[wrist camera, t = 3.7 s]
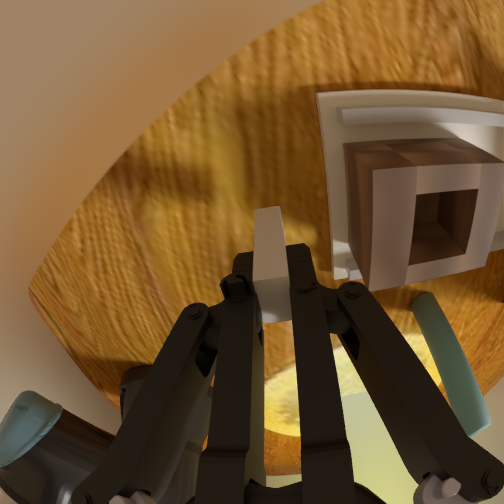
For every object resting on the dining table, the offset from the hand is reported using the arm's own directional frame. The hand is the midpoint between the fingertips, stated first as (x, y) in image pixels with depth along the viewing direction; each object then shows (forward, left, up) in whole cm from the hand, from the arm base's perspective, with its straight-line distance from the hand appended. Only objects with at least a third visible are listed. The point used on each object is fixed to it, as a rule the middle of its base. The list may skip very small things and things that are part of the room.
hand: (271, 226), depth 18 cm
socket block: (+11, 0, -3) cm, 11 cm away
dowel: (+15, -14, -4) cm, 21 cm away
